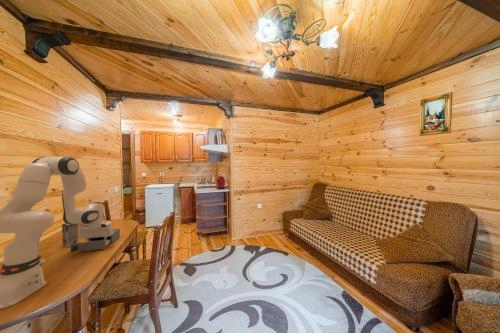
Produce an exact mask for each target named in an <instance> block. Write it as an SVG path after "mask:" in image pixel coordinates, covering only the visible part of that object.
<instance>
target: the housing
mask: <svg viewBox="0 0 500 333" xmlns="http://www.w3.org/2000/svg"><path fill="white" fill-rule="evenodd" d="M120 231H121V230H120V228H113V234H112V235H111V236H107V238H106V239H111V242H110V243H109V244H108V245H112V244H114V243H115V242H116V241H117V240H118V239H119V238H120V235H121V234H120ZM88 239H89V241H92V240H103V239H105V238H104V237H94V238H88Z"/></svg>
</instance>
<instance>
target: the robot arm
mask: <svg viewBox="0 0 500 333" xmlns="http://www.w3.org/2000/svg"><path fill="white" fill-rule="evenodd" d="M24 167H25V168H23V170H22V172H21V174H20V175H19V177H18V180H17V182H16V186H15V188H14V191H13V193H12V195H11V197H10V199H9V200H8V201H7V202H6V204H4V206H2V207H1V208H0V234H14V235H15V236H14V239H13V241H11V242H9V243H8V244H6V245H5V247H4V248H3V264H2V266H1V267H0V310H1V309H5V308H8V307H11V306H13V305H16V304H17V303H19V302H21V301H22V300H24V299H25V298H28V296H30V295H32V294H34V293H35V292H36V291H38V290H39V289H41V288H42V287H45V285H47V281H46V280H45V278H44V277H45V276H44V273H43V271H44V270H43V268H42V266H41V264H40V265H39V263H40V255H39V253H40V251H39V249H40V248H39V245H40V239H41V237H42V236H43V234H44V232H46V231H48V229H49V228H51V227H52V226H53V223H54V220H55V216H54V214H53V213H52V212H51V211H48V210H47V211H46V210H41V209H34V210H33V208H34V206H35V205H36V204H38V203H40V202H42V201H43V200H45V198H46V195H47V192H48V188H49V185H50V182H51V178H52V176H60V179H61V184H62V187H63V189H62V192H61V201H62V207H63V209H62V210H63V214H62V220H63V222H64V224H65V223H67V224H78V225H81V226H79V227H78V239H85V242H91V241H89V239H88V238H94V237H104V238H105V239H103V240H102V241H106V238H107V236H111V235H112V234H113V229H114V228H113V225H112V224H113V223H112V221H108V220H105V218H104V214H105V208H104V204H103V203H102V202H90V203H89V205H88V206H86V207H85V208H83V209H81V208H80V209H79V208H77V207H76V199H75V197H76V196H77V195H80V194H81V193H83V192H84V191H85V190H86V188H87V181H86V177H85V174H84V171H83V170H82V168H81V167H80V164H79V161H78V160H77V159H76V158H74V157H70V156H55V155H54V156H41V157H37V158H35V159H33V161H32V162H31V163H29V164H27V165H26V166H24Z"/></svg>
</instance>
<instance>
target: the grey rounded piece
mask: <svg viewBox="0 0 500 333" xmlns="http://www.w3.org/2000/svg"><path fill="white" fill-rule="evenodd" d="M69 248H70V252H71V253H72V252H73V253H74V252H77V251H78V244H72V245H70V247H69Z"/></svg>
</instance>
